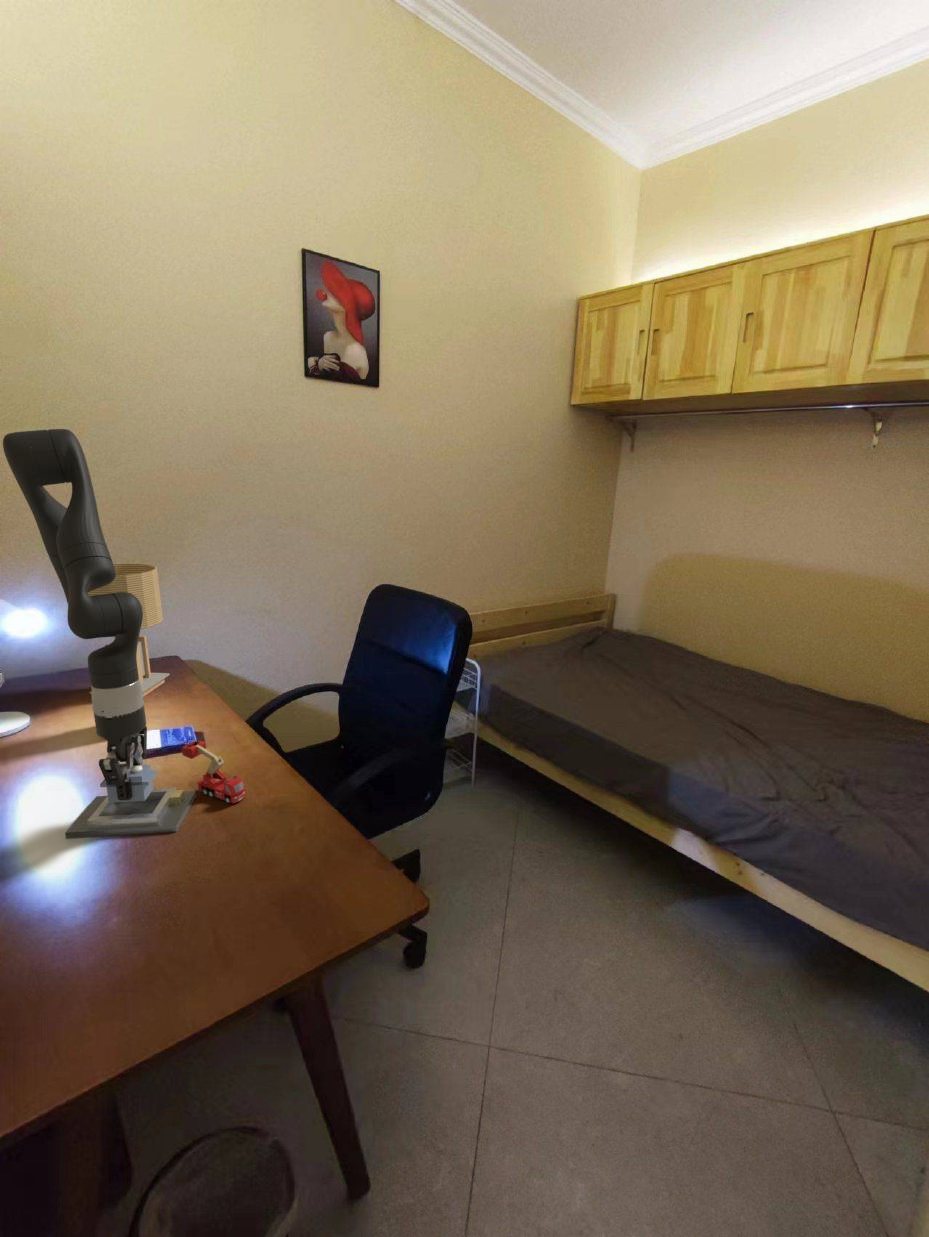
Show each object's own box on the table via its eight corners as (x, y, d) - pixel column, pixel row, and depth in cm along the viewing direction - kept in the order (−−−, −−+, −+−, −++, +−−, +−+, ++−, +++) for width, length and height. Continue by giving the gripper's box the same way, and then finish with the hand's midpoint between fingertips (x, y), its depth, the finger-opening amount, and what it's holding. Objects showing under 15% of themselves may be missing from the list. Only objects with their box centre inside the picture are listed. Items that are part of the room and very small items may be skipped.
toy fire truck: (234, 806, 105) (230, 761, 102) (185, 787, 110) (180, 745, 108) (248, 797, 108) (244, 754, 105) (199, 779, 113) (194, 738, 111)
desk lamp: (146, 705, 147) (130, 577, 138) (74, 702, 147) (53, 574, 138) (183, 678, 166) (171, 564, 157) (120, 676, 166) (104, 562, 157)
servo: (113, 790, 101) (109, 763, 99) (159, 788, 102) (156, 761, 101) (102, 803, 97) (98, 775, 96) (150, 800, 98) (147, 773, 97)
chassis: (97, 801, 105) (95, 789, 104) (196, 796, 107) (195, 784, 107) (66, 838, 94) (63, 825, 93) (176, 831, 97) (175, 818, 96)
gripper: (114, 690, 101) (126, 772, 106) (73, 724, 88) (88, 816, 92) (157, 689, 102) (167, 770, 107) (123, 722, 89) (136, 814, 93)
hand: (131, 791), depth 99 cm, fingers closed on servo, 4 cm apart
